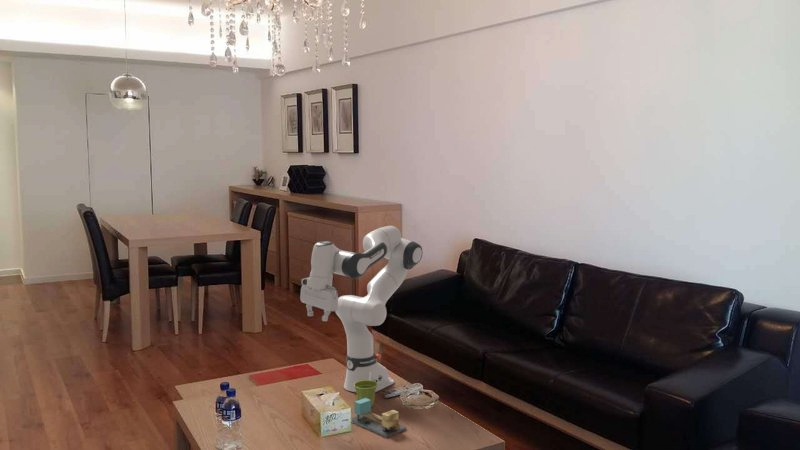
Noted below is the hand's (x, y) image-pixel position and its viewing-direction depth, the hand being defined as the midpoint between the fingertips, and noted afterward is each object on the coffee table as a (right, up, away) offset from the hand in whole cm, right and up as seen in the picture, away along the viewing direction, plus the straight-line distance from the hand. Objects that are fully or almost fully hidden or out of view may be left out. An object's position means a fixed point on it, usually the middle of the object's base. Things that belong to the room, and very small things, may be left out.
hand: (317, 318), depth 261 cm
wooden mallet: (+24, -37, -14) cm, 46 cm away
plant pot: (+18, -36, +6) cm, 41 cm away
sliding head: (+18, -36, -8) cm, 41 cm away
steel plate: (+24, -38, -13) cm, 47 cm away
